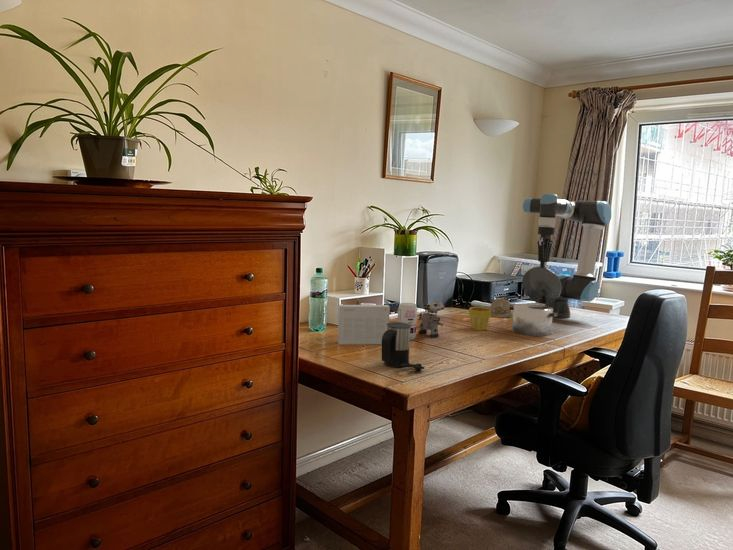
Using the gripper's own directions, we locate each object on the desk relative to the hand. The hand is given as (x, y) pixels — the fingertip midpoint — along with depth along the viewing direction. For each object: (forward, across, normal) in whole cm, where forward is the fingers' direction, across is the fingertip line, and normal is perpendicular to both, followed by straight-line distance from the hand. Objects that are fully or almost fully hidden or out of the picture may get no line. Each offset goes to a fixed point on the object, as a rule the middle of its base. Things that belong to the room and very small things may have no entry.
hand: (542, 275), depth 269 cm
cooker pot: (+27, +7, 0) cm, 28 cm away
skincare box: (+27, +87, -39) cm, 99 cm away
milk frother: (+27, +102, -7) cm, 105 cm away
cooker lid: (+5, +1, 0) cm, 5 cm away
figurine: (+27, +52, -28) cm, 65 cm away
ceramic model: (+27, -17, -28) cm, 43 cm away
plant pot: (+27, +23, -20) cm, 40 cm away
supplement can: (+27, +66, -32) cm, 78 cm away
